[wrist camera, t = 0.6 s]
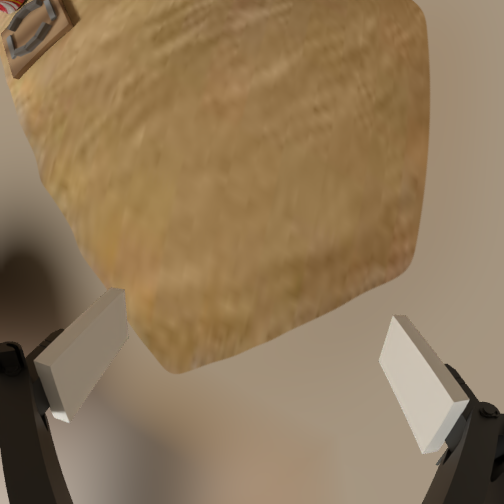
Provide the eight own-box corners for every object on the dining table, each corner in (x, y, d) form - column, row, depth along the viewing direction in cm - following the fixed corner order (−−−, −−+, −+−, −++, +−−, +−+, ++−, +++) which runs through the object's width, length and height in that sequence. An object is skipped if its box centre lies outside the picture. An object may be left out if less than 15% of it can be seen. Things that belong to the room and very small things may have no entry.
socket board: (5, 35, 32) (-5, 31, 29) (55, -13, 30) (46, -20, 27) (18, 79, 35) (6, 76, 32) (73, 26, 33) (62, 20, 30)
